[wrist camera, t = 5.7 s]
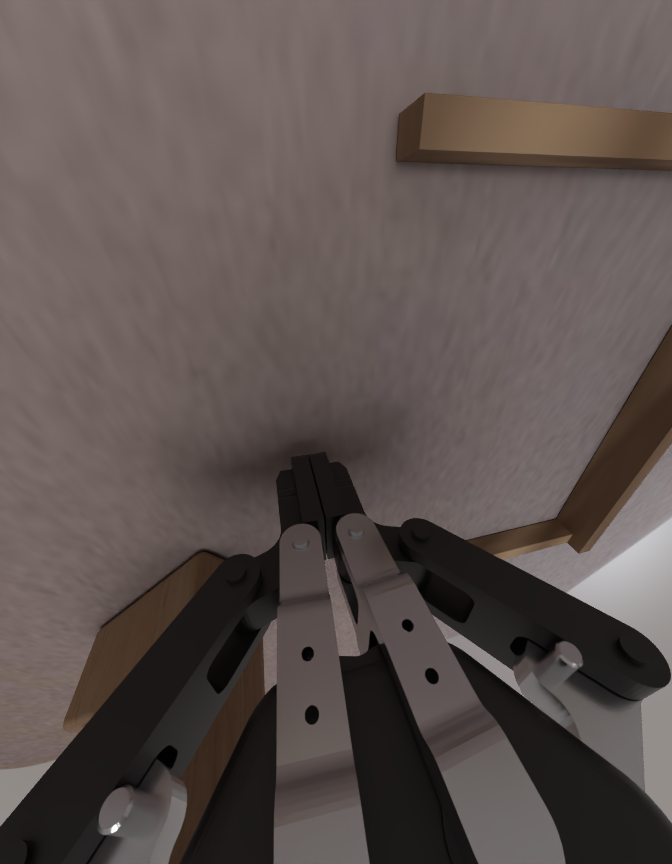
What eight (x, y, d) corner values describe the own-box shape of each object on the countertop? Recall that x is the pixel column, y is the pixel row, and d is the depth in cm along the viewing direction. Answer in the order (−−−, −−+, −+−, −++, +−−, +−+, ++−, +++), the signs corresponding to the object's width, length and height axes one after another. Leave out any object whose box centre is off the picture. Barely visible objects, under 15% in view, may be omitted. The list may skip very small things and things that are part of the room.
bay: (801, 140, 12) (918, 119, 10) (561, 524, 24) (589, 550, 22) (399, 113, 8) (447, 73, 6) (365, 573, 21) (378, 608, 19)
